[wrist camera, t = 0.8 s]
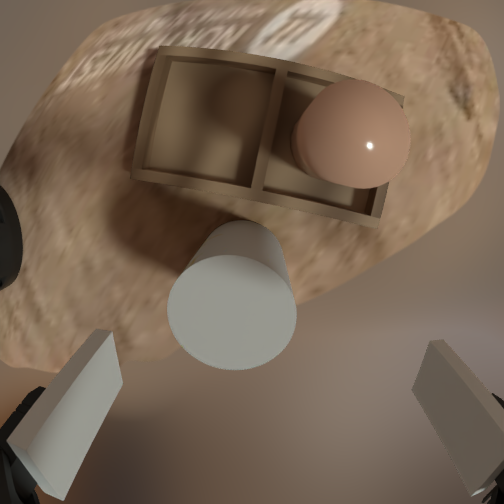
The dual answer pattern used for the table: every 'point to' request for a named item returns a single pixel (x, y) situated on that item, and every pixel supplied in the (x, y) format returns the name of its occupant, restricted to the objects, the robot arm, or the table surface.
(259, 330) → the grey cylinder
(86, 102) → the table surface
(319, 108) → the tan rounded cylinder
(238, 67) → the caddy
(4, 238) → the robot arm
